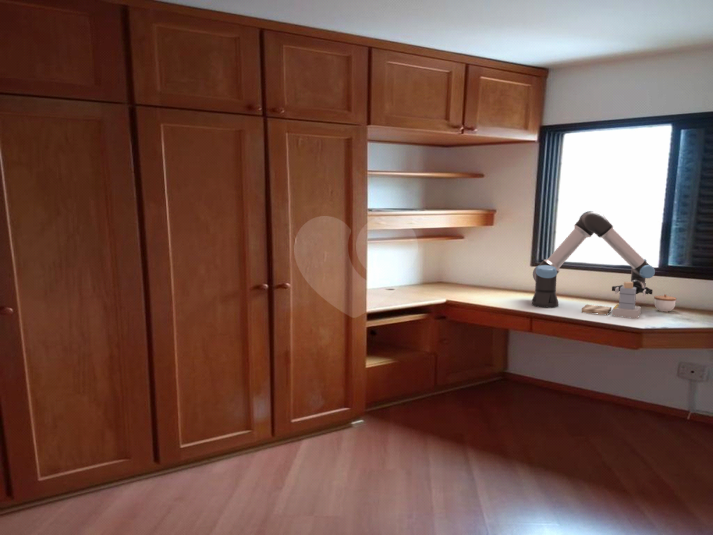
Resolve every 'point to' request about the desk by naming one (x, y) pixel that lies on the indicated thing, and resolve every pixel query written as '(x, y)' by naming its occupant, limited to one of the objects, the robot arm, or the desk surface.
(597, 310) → the pallet
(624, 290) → the grey stacked container
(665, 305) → the lidded jar
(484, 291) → the desk surface
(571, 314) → the desk surface
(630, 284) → the parcel
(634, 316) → the dock
